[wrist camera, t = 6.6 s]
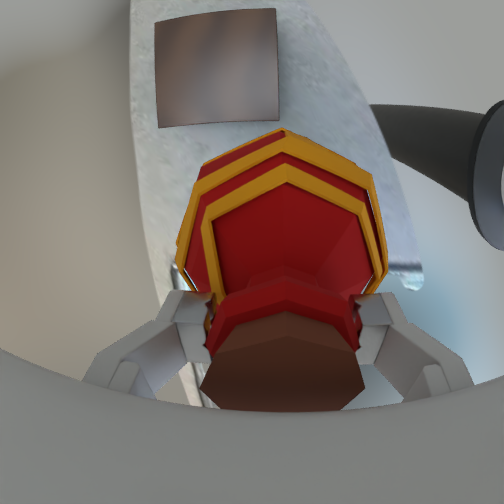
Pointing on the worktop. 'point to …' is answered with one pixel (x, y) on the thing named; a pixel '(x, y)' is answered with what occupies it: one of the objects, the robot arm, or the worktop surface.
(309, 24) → the worktop surface
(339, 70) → the worktop surface
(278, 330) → the potion bottle
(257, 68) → the shelf
